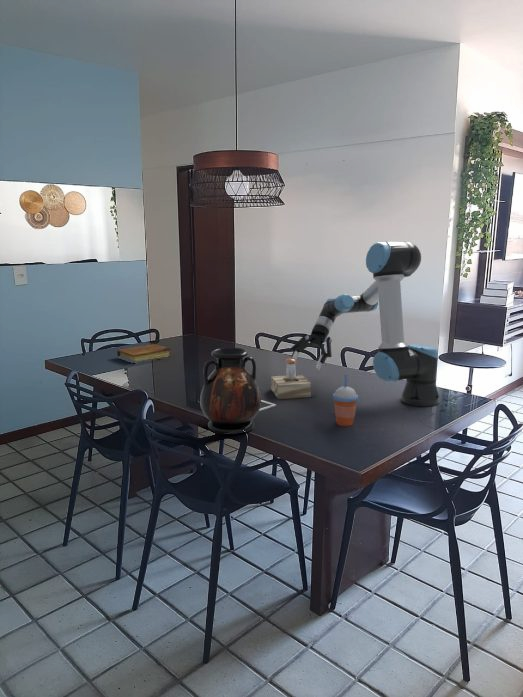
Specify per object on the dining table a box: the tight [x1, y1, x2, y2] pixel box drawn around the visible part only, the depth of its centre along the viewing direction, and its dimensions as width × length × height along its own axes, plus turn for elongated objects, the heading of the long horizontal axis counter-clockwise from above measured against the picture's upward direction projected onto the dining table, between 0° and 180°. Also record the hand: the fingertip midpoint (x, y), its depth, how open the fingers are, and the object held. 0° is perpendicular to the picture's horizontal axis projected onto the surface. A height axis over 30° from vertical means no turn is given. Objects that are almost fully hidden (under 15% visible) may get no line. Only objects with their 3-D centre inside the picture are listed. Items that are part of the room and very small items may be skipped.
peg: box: [285, 357, 297, 382], centre depth 232 cm, size 4×4×14 cm
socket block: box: [270, 374, 312, 400], centre depth 233 cm, size 14×14×6 cm
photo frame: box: [259, 399, 277, 412], centre depth 218 cm, size 15×1×18 cm
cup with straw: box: [332, 374, 359, 427], centre depth 194 cm, size 9×9×18 cm
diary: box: [116, 343, 171, 362], centre depth 301 cm, size 23×19×6 cm
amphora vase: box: [199, 347, 262, 435], centre depth 189 cm, size 22×22×28 cm
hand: (304, 366), depth 240 cm, fingers open, 13 cm apart
